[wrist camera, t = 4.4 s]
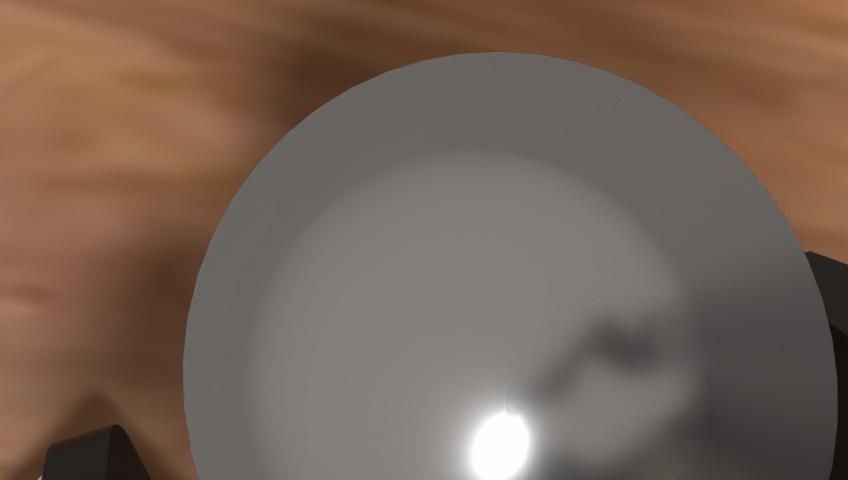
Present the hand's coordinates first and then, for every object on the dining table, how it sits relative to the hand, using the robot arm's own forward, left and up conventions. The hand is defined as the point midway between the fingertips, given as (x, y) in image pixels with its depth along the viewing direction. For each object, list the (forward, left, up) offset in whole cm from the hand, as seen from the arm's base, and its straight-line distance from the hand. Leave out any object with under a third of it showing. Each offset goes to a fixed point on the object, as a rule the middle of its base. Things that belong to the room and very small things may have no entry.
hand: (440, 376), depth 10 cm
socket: (0, 0, -6) cm, 6 cm away
